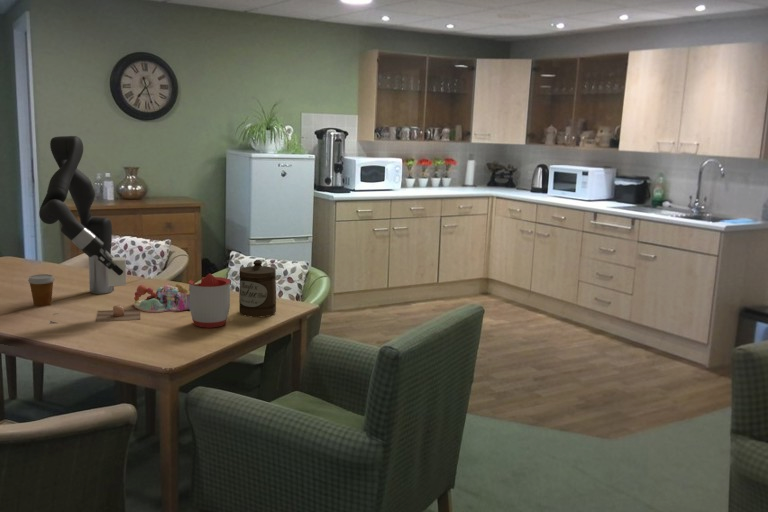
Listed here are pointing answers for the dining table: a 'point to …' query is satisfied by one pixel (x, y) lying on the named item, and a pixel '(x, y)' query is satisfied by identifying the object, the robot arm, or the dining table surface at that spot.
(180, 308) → the pastel sphere sculpture
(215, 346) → the dining table surface
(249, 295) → the wooden container
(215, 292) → the citrus juicer
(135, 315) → the board
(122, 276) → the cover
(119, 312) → the glossy tan pebble
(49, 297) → the disposable coffee cup
